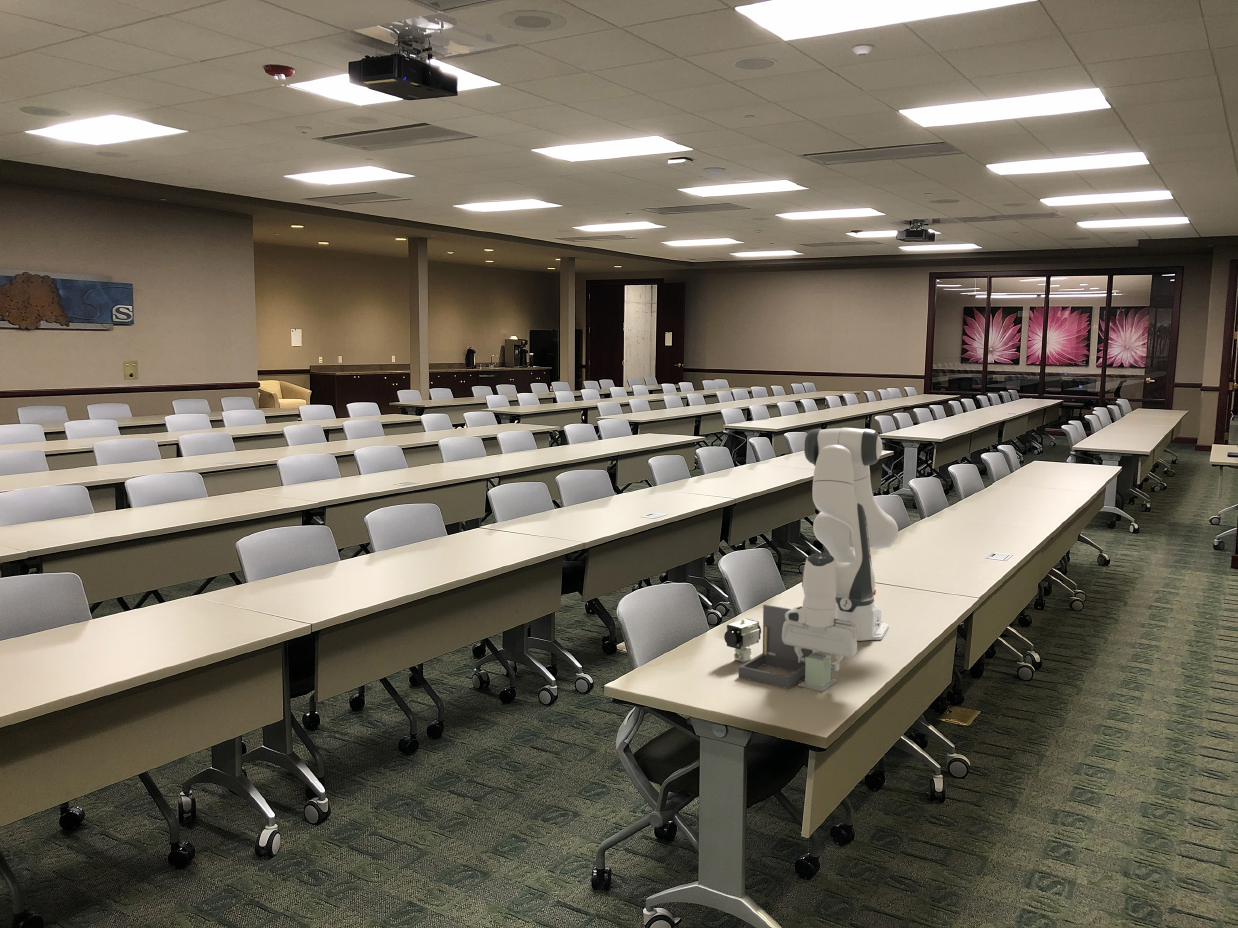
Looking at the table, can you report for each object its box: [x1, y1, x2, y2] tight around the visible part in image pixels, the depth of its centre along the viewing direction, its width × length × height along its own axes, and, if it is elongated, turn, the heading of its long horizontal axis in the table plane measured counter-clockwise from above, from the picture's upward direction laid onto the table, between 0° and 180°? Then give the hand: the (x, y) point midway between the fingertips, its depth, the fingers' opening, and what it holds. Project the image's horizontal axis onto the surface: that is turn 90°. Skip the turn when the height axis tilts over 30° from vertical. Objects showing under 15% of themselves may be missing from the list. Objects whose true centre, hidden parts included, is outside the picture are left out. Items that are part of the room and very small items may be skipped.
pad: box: [797, 678, 838, 693], centre depth 239 cm, size 9×7×1 cm
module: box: [804, 651, 832, 687], centre depth 239 cm, size 5×5×8 cm
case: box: [738, 604, 814, 690], centre depth 245 cm, size 15×15×17 cm
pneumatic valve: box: [723, 618, 762, 663], centre depth 257 cm, size 6×12×12 cm, turn 135°
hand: (818, 666), depth 239 cm, fingers open, 8 cm apart
